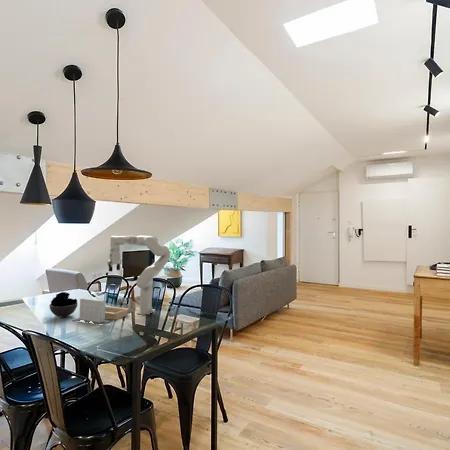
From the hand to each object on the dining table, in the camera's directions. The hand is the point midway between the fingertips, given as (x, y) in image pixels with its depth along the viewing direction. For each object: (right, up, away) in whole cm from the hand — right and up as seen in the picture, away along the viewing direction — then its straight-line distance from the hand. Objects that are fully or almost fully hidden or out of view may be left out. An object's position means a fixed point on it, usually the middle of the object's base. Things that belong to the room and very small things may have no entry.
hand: (114, 270), depth 286 cm
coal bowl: (-33, -34, -21) cm, 52 cm away
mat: (-6, -34, -32) cm, 47 cm away
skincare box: (-6, -33, -32) cm, 47 cm away
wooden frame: (0, -34, -16) cm, 38 cm away
